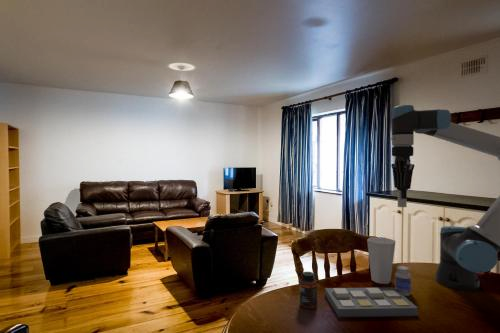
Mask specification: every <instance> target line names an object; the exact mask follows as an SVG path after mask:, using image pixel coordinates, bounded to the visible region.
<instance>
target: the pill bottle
mask: <svg viewBox="0 0 500 333" xmlns="http://www.w3.org/2000/svg"><path fill="white" fill-rule="evenodd" d="M409 272H410V268H409V267H407V266H404V265H398V266H397V267H396V271H395V274H394V283H395V284H394V285H395V286H394V288H395V289H396V290H397V291H399V292H400V293H401V294H402V295H403V296H404V297H408V296H410V295H411V294H412V275H411V274H410V273H409Z"/></svg>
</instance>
